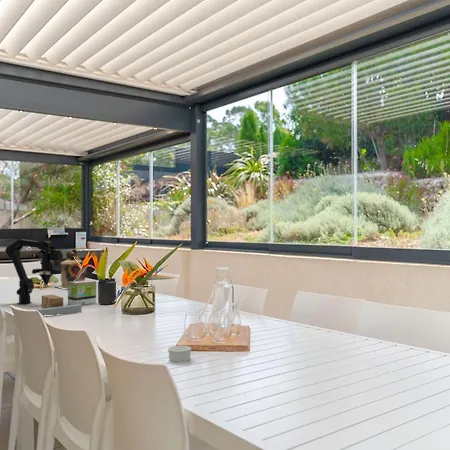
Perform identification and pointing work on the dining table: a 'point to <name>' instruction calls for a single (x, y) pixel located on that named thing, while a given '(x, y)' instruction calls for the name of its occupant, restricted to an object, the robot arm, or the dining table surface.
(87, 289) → the tea box
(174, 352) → the ramekin
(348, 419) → the dining table surface
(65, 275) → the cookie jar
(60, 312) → the gray bar
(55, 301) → the walnut block
